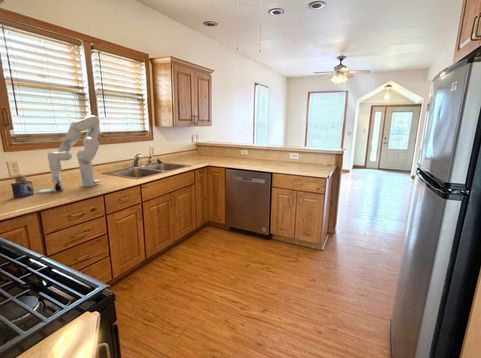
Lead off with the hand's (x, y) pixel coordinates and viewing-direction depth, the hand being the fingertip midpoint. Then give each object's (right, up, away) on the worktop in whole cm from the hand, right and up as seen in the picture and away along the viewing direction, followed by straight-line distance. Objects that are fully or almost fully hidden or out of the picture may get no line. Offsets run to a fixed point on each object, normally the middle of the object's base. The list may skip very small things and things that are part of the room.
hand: (59, 189), depth 209 cm
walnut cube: (-16, +6, -17) cm, 24 cm away
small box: (-16, -4, -15) cm, 22 cm away
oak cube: (0, -1, 0) cm, 1 cm away
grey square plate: (-8, -2, -4) cm, 9 cm away
